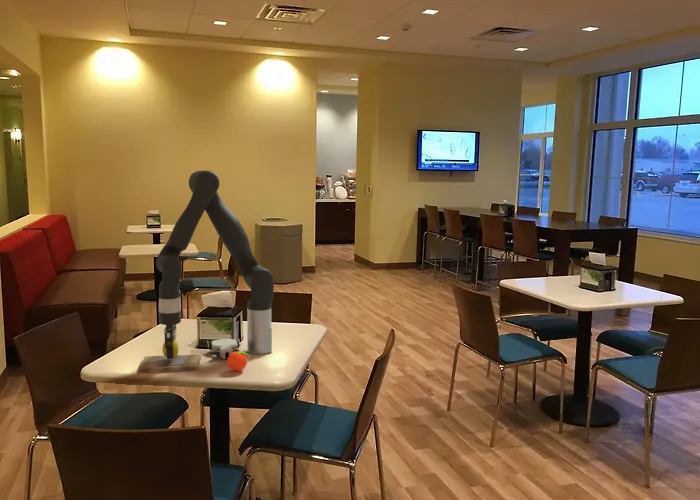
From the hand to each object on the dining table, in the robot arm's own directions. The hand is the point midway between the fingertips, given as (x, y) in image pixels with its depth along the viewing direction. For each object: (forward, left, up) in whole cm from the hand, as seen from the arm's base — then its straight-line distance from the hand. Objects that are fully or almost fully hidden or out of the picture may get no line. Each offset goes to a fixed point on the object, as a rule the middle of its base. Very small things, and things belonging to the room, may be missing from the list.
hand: (171, 355), depth 214 cm
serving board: (0, 0, -4) cm, 4 cm away
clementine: (-24, +9, -4) cm, 26 cm away
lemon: (0, 0, -2) cm, 2 cm away
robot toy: (-19, -10, -4) cm, 22 cm away
